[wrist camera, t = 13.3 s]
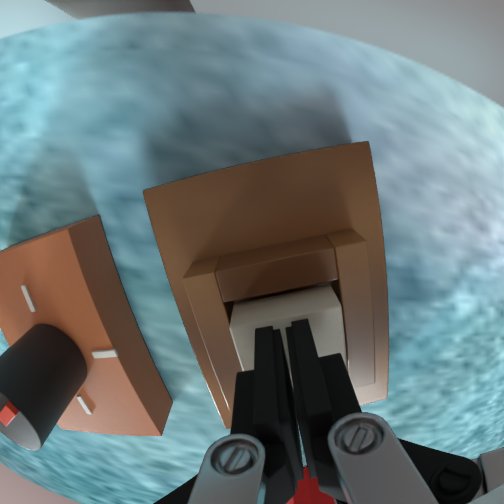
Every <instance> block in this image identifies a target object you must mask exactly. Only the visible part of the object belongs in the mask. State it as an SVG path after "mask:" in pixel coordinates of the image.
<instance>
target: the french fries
mask: <svg viewBox="0 0 504 504" xmlns="http://www.w3.org/2000/svg"><path fill="white" fill-rule="evenodd" d="M303 472H304V480H298V481H297V484H298V490H295V493H296V494H295V495H294V496H293V497H292V498H291V499H290V500H289V501H288V502H287V503H286V504H335V502H334V498H333V497H332V496H330V495H328V494H326V493H324V492H322V491H320V490H319V485H318V479H317V477H316V478H310V476H309V471H308V467H305V468H303Z"/></svg>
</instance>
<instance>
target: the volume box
mask: <svg viewBox="0 0 504 504" xmlns="http://www.w3.org/2000/svg"><path fill="white" fill-rule="evenodd" d="M37 324H48V325H51V326H54V327H56V328H57V329H59V330H61V331H62V332H64V333H65V334H66V335H67V336H68V337H69V338H70V339H71V340H72V341H73V342H74V343H75V344H76V346H77V347H78V348H79V350H80V351H81V353H82V355H83V357H84V359H85V362H86V365H87V378H86V380H85V382H84V383H83V385H82V386H81V388H80V389H79V391H78V392H77V393H76V395H75V396H74V398H73V399H72V401H71V402H70V404H69V405H68V407H67V408H66V410H65V411H64V413H63V414H62V416H61V417H60V419H59V420H58V422H57V424H58V425H59V427H60V428H61V429H66V430H74V431H82V432H91V433H102V434H116V435H135V436H162V434H163V431H164V428H165V425H166V422H167V419H168V416H169V413H170V410H171V407H172V404H173V401H172V399H171V397H170V395H169V393H168V391H167V389H166V387H165V385H164V383H163V381H162V379H161V377H160V375H159V373H158V371H157V369H156V366H155V364H154V362H153V360H152V358H151V356H150V353H149V351H148V349H147V347H146V344H145V342H144V340H143V337H142V335H141V333H140V330H139V328H138V325H137V323H136V320H135V318H134V315H133V313H132V310H131V308H130V305H129V303H128V300H127V297H126V295H125V292H124V289H123V287H122V284H121V281H120V278H119V275H118V273H117V270H116V267H115V264H114V261H113V258H112V255H111V252H110V249H109V246H108V242H107V239H106V236H105V233H104V229H103V226H102V223H101V219H100V216H99V215H97V216H94V217H91V218H88V219H84V220H81V221H79V222H76V223H73V224H70V225H67V226H64V227H61V228H58V229H55V230H53V231H50V232H47V233H44V234H42V235H39V236H36V237H34V238H31V239H28V240H26V241H23V242H20V243H18V244H15V245H13V246H10V247H8V248H5V249H3V250H1V251H0V328H1V330H2V332H3V334H4V336H5V338H6V340H7V342H8V344H9V346H10V347H11V346H12V345H13V344H14V343H15V342H16V341H17V340H18V339H19V338H20V337H22V336H23V335H24V334H25V333H26V332H27V331H28V330H29V329H31V328H32V327H33V326H34V325H37Z"/></svg>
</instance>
